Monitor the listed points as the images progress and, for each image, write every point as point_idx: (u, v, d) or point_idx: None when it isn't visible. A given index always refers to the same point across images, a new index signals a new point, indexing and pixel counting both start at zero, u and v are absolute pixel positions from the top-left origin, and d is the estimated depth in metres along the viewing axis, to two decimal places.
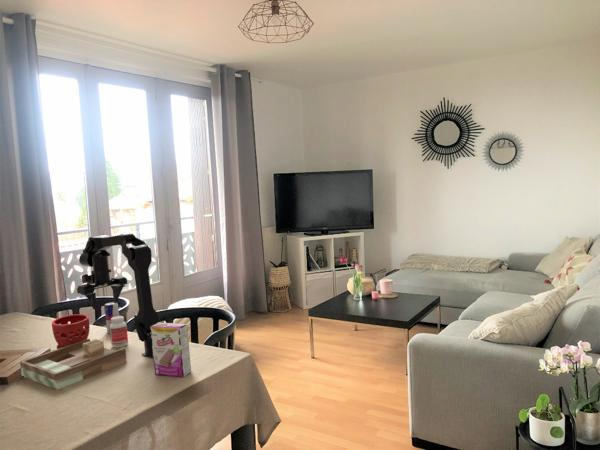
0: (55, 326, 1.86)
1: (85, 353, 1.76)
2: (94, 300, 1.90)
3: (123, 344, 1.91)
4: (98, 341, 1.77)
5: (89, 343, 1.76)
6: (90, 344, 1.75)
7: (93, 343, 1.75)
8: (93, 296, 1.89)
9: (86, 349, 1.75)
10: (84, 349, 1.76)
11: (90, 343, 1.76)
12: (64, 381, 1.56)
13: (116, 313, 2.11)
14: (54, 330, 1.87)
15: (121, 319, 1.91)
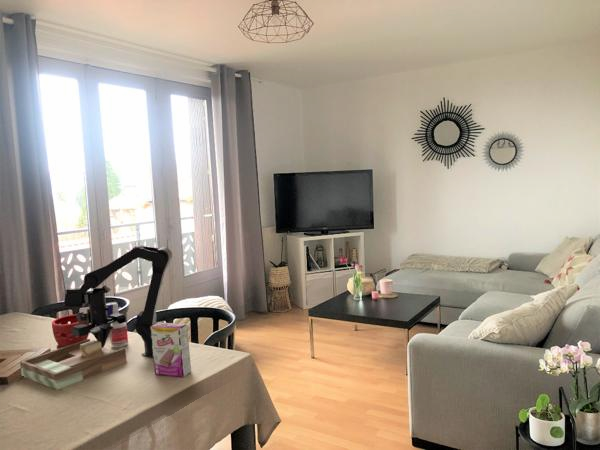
0: (55, 326, 1.86)
1: (83, 354, 1.75)
2: (101, 338, 1.77)
3: (123, 344, 1.91)
4: (96, 342, 1.77)
5: (86, 344, 1.75)
6: (87, 345, 1.74)
7: (91, 344, 1.74)
8: (100, 334, 1.76)
9: (84, 350, 1.74)
10: (82, 350, 1.75)
11: (87, 343, 1.75)
12: (64, 381, 1.56)
13: None
14: (54, 330, 1.87)
15: None
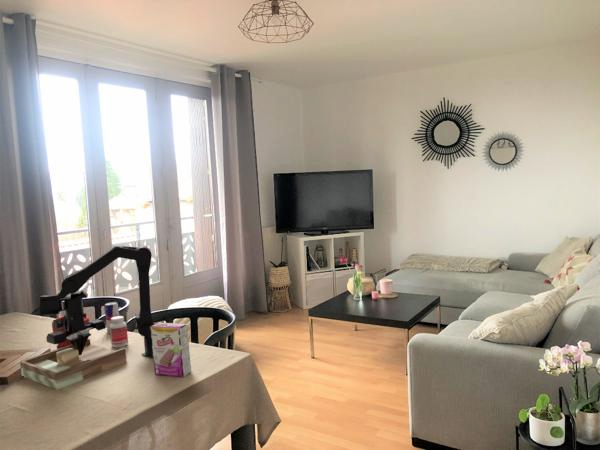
0: None
1: (59, 362, 1.68)
2: (79, 345, 1.70)
3: (123, 344, 1.91)
4: (73, 350, 1.70)
5: (63, 352, 1.68)
6: (64, 353, 1.67)
7: (67, 352, 1.67)
8: (77, 341, 1.69)
9: (60, 358, 1.67)
10: (58, 358, 1.68)
11: (64, 351, 1.69)
12: (64, 381, 1.56)
13: (116, 313, 2.11)
14: (54, 330, 1.87)
15: (121, 319, 1.91)
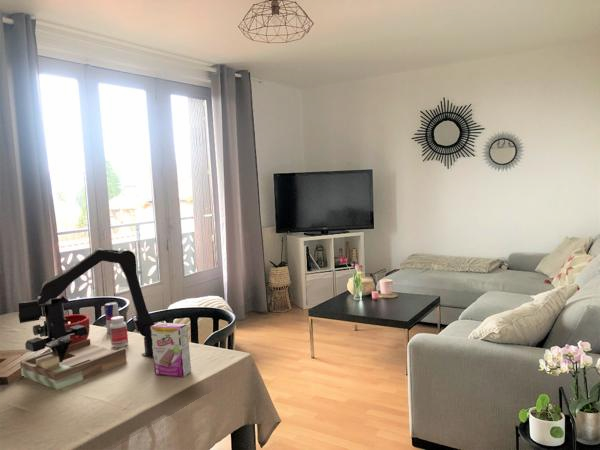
0: None
1: None
2: (59, 352, 1.65)
3: (123, 344, 1.91)
4: (53, 356, 1.64)
5: (42, 359, 1.63)
6: (43, 360, 1.62)
7: (47, 359, 1.62)
8: (58, 348, 1.64)
9: (39, 365, 1.62)
10: (37, 365, 1.63)
11: (43, 358, 1.63)
12: (64, 381, 1.56)
13: (116, 313, 2.11)
14: None
15: (121, 319, 1.91)
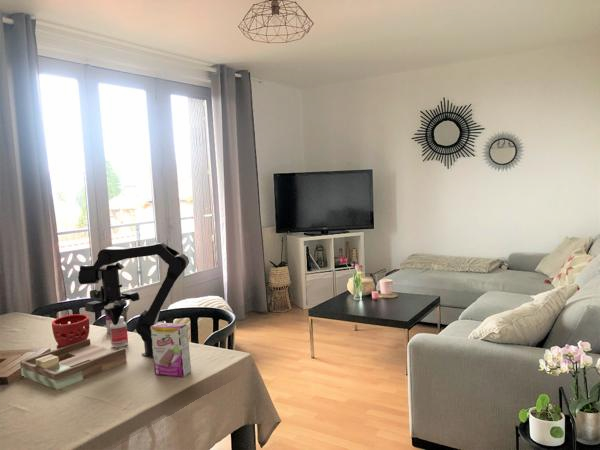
0: (55, 326, 1.86)
1: None
2: (115, 315, 1.77)
3: (123, 344, 1.91)
4: (53, 357, 1.64)
5: (42, 359, 1.63)
6: (43, 360, 1.61)
7: (47, 359, 1.62)
8: (114, 311, 1.76)
9: (39, 366, 1.62)
10: (37, 365, 1.63)
11: (43, 358, 1.63)
12: (64, 381, 1.56)
13: None
14: (54, 330, 1.87)
15: (121, 319, 1.91)
